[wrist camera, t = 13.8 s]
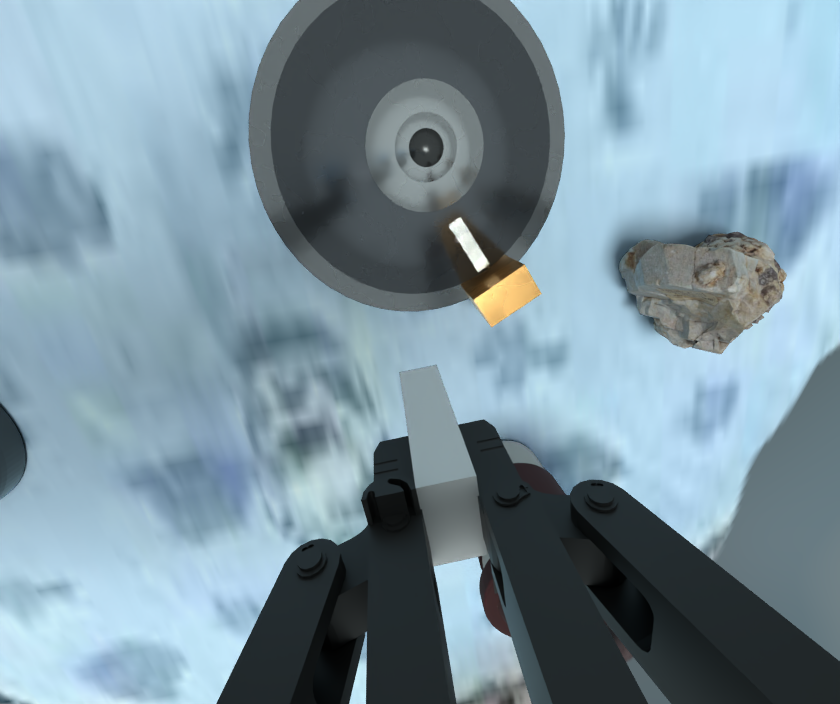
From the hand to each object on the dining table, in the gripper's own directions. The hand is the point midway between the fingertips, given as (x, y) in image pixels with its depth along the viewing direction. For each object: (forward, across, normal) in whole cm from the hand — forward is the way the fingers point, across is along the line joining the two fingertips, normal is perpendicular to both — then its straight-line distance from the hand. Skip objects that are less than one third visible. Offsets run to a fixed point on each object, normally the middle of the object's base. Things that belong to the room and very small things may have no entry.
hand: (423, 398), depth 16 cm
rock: (+17, +22, -3) cm, 28 cm away
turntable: (+16, +3, +8) cm, 18 cm away
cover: (+14, +3, +10) cm, 17 cm away
